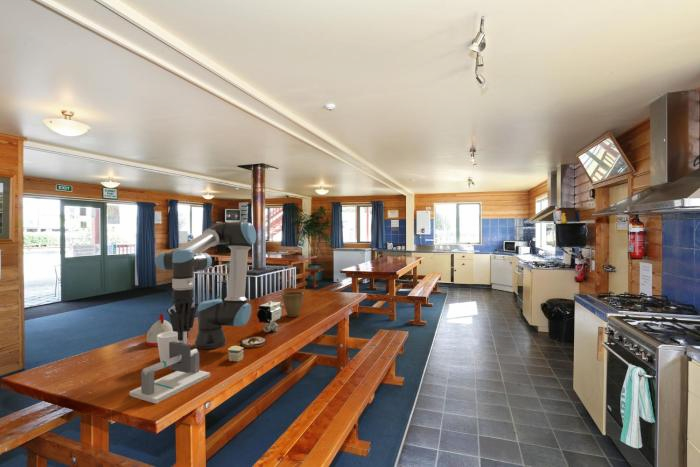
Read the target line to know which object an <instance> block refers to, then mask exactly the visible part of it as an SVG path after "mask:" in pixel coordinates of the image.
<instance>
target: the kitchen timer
mask: <svg viewBox="0 0 700 467" xmlns="http://www.w3.org/2000/svg"><path fill="white" fill-rule="evenodd" d="M169 331H173V329H172V325H171V322H169V321H168V320H165V318H164V315H163V314H162V313H159V316H158V320H156V321H155V322H154V323H153V324H152V325H151V327H150V329H148V330H147V334H146V341H145V343H146V345H147V346H149V347H158V343H157V335H158V334H160V333H164V332H169Z"/></svg>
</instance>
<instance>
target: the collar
mask: <svg viewBox="0 0 700 467" xmlns="http://www.w3.org/2000/svg"><path fill="white" fill-rule="evenodd" d="M191 350H192V349H191V344H188V343H187V344H184V343H179V342H174V341H172V342H169V359H170V358H172V357H175V356H178V355H181V361H179V362H177V363H174V364H172V365H169V366H168V370H173V371H175V372H176V371H180V372H184V373H189V372H191V364H190V355H191Z"/></svg>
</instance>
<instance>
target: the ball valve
mask: <svg viewBox="0 0 700 467" xmlns="http://www.w3.org/2000/svg"><path fill="white" fill-rule="evenodd" d="M282 316H283V306H282V301H272V300H268V302H266V303H262V304H260V305H259V306H258V311H257V313H256V317H257V319H258V323H264V325H263V329H262V330H263V331H264V333H270V332H277V331H278V330H279V324H278V323H277V322H276V321H277V320H279V319H281V318H282Z"/></svg>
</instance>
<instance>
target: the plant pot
mask: <svg viewBox="0 0 700 467" xmlns="http://www.w3.org/2000/svg"><path fill="white" fill-rule="evenodd" d="M282 299H283V305H284V308H285V311H286V314H287V316H288V317H290V318H295V317H299V315H300V312H301V309H302V305H303V302H304V292H303V291H286V292H283V293H282Z"/></svg>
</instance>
